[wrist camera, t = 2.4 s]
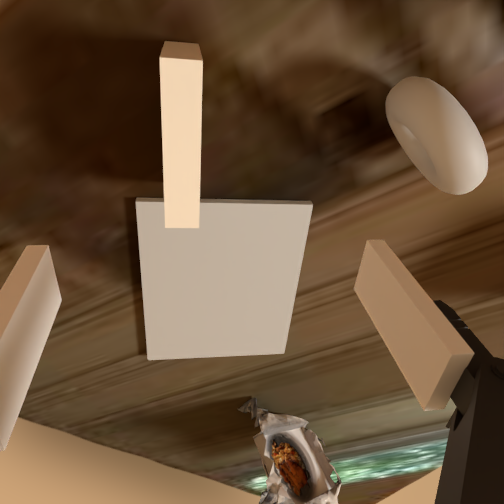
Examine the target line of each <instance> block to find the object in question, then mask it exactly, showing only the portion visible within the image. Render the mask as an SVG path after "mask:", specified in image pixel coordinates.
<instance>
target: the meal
mask: <svg viewBox="0 0 504 504" xmlns="http://www.w3.org/2000/svg"><path fill="white" fill-rule="evenodd" d="M238 410H239V411H241V412H243V413H247V412H250V411H251V413H252V418H251V419H252V420H253V418H255V417H257V419H256V422H255V427H258V426H259V425H260V429H261V432H260V433H258V434H257V435H255V436H253V439H254V441H255V444H256V446H257V448H258V450H259V453H260V455H261V457H262V462H263V466H264V469H265V472H266V475H267V477H268V479H267V480H266V484H267V490H265V491H264V492H262V495H261V499H260V502H259V504H338V501H337V495H338V494H339V490H340V486H341V480H340V477H339V476H338V474H337V473H336V474H337V480H338V481H337V483H334V481H333V480H332V479H331V478H330V475H331V473H332V471H333V470H334V471H335V469H334V467H333V466H332V465H331V464H329V463H330V462H331V460H330V459H328V458H327V457H326V456H325V454H324V452H323V448H322V446H321V444H320V442H319V441H322V442H323V444H324V445H325V443H324V441H323V439H322V440H320V439H319V438H318V437H317V435H316V434H315V433H314V432H312V431H311V430H310V429H309V430H306V429H305V427H306V425H307V424H308V421H306V420H303V419H301V418H298V417H294V416H291V415H287V414H273V413H269V412H268V411H267V410H265V409H260V408H257V401H256V398H252V399H250V400H248V401H247V402H246V403H245V404H244V405H243V406H242V407H240V408H239V409H238ZM263 411H264V412H263ZM325 447H326V446H325ZM335 472H336V471H335Z"/></svg>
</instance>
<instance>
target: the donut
mask: <svg viewBox="0 0 504 504" xmlns="http://www.w3.org/2000/svg"><path fill="white" fill-rule="evenodd" d="M385 107H386V116H387V119H388V122H389V125H390V127H391V129H392V131H393V133H394V135H395V137H396V138H397V140H398V142H399V143H400V145H401V147H402V148H403V150H404V151H405V152H406V154H407V155H408V157H409V158H410V160H411V161H412V162H413V163H414V165H415V166H416V167H417V169H418V170H419V171H420V172H421V173H422V174H423V175H424V177H425V178H426V179H427V180H429V181H430V182H431V183H432V184H433V185H434V186H435V187H437V188H438V189H440V190H442V191H444V192H446V193H450V194H456V195H460V194H466V193H468V192H470V191H472V190H474V189H475V188H476V187H477V186H478V185H479V184H480V183H481V182H482V181H483V180H484V178H485V176H486V174H487V169H488V157H487V152H486V149H485V146H484V142H483V140H482V138H481V136H480V133H479V131H478V129H477V127H476V126H475V124H474V123H473V121H472V120H471V118H470V117H469V115H468V113H467V112H466V111H465V109H464V108H463V107H462V106H461V105H460V103H459V102H458V101H457V100H456V99H455V98H454V97H453V96H452V95H451V94H450V93H449V92H448V91H447V90H446V89H445V88H443V87H442V86H440V85H439V84H437V83H435V82H434V81H432V80H430V79H429V78H423V77H416V76H412V77H407V78H405V79H403V80H401V81H399V82H398V83H397V84H396V85H395V86H394V87H393V88H392V89H391V90H390V92H389V94H388V95H387V98H386V103H385Z"/></svg>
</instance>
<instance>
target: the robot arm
mask: <svg viewBox="0 0 504 504" xmlns="http://www.w3.org/2000/svg"><path fill="white" fill-rule="evenodd" d="M354 290H355V292H356V294H357V295H358V297H359V299H360V301H361V302H362V304H363V306H364V308H365V309H366V311H367V313H368V315H369V316H370V318H371V320H372V322H373V323H374V325H375V327H376V328H377V330H378V332H379V334H380V335H381V337H382V339H383V341H384V342H385V344H386V346H387V348H388V349H389V351H390V353H391V355H392V356H393V358H394V360H395V361H396V363H397V365H398V367H399V368H400V370H401V372H402V374H403V375H404V377H405V379H406V381H407V382H408V384H409V386H410V388H411V389H412V391H413V393H414V395H415V396H416V398H417V400H418V401H419V403H420V405H421V407H422V408H423V410H424V411H427V410H438V409H444V408H445V407H446V405H447V403H448V401H449V399H450V397H451V399H452V400H453V402H454V403H455V405H456V406H457V408H456V409H455V411H454V413H453V415H452V416H451V418H450V420H449V422H448V423H447V425H446V427H447V428H450V432H449V436H448V441H447V446H446V451H445V456H444V461H443V466H442V470H441V476H440V480H439V485H438V490H437V495H436V499H435V504H504V359H500V358H497V357H493V356H492V355H491V354H490V352H489V351H488V350H487V349H486V348H485V347H484V345H483V344H482V343H481V342H480V341H479V339H478V338H477V337H476V336H475V335H474V334H473V332H472V331H471V330H470V329H468V326H467V325H466V324H465V323H464V322H463V321H461V318H460V317H459V316H458V315H457V314H456V312H455V311H454V310H453V309H452V308H451V307H449V306H448V305H446V304H445V303H443V302H442V301H441V300H436V301H432V300H431V298H430V297H429V296H428V295H427V293H426V292H425V291H424V290H423V288H422V287H421V286H420V285H419V283H418V282H417V281H416V280H415V278H414V277H413V276H412V275H411V273H410V272H409V271H408V270H407V268H406V267H405V266H404V265H403V264H402V262H401V261H400V260H399V259H398V257H397V256H396V255H395V254H394V252H393V251H392V250H391V249H390V247H389V246H388V245H387V244H386V242H385V241H384V240H367V242H366V246H365V250H364V253H363V257H362V261H361V264H360V268H359V272H358V275H357V279H356V283H355V286H354ZM61 301H62V299H61V295H60V291H59V287H58V283H57V279H56V275H55V271H54V266H53V262H52V258H51V254H50V250H49V246H48V245H33V246H26V248H25V250H24V251H23V253H22V255H21V256H20V258H19V260H18V262H17V263H16V265H15V267H14V268H13V270H12V272H11V273H10V275H9V277H8V278H7V280H6V282H5V284H4V285H3V287H2V289H1V290H0V451H5V449H6V447H7V444H8V441H9V438H10V436H11V433H12V430H13V428H14V425H15V423H16V420H17V417H18V415H19V412H20V409H21V407H22V404H23V401H24V399H25V396H26V393H27V391H28V388H29V386H30V383H31V380H32V378H33V375H34V372H35V370H36V367H37V364H38V362H39V359H40V356H41V354H42V351H43V348H44V346H45V343H46V340H47V338H48V335H49V333H50V330H51V327H52V325H53V322H54V319H55V317H56V314H57V311H58V309H59V306H60V303H61ZM450 426H451V427H450Z"/></svg>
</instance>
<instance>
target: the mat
mask: <svg viewBox="0 0 504 504" xmlns="http://www.w3.org/2000/svg"><path fill="white" fill-rule="evenodd" d="M312 208H313V204H312V202H311V201H288V200H237V199H200V214H199V228H165V210H164V198H136V214H137V227H138V240H139V253H140V266H141V279H142V292H143V306H144V319H145V332H146V345H147V358H148V360H160V359H181V358H202V357H224V356H245V355H266V354H284V352H285V347H286V341H287V336H288V331H289V326H290V321H291V316H292V311H293V305H294V300H295V295H296V290H297V285H298V280H299V275H300V269H301V264H302V259H303V254H304V249H305V244H306V239H307V233H308V228H309V223H310V218H311V213H312Z"/></svg>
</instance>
